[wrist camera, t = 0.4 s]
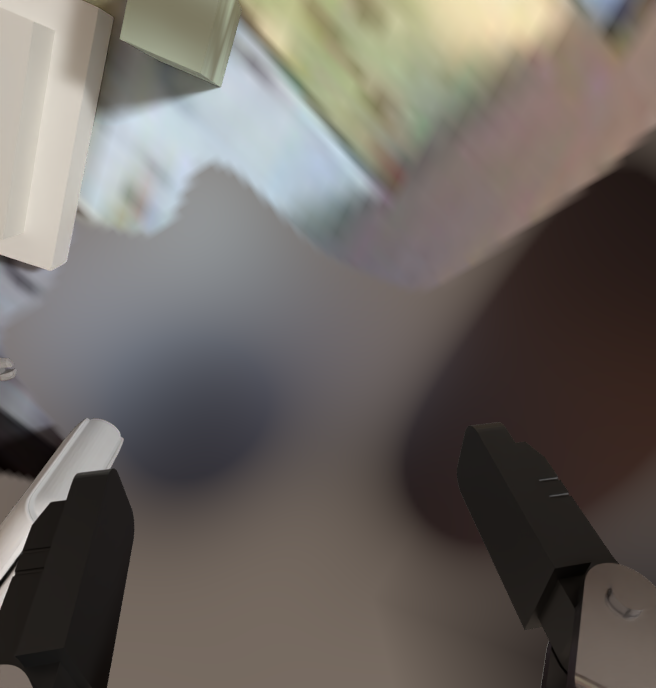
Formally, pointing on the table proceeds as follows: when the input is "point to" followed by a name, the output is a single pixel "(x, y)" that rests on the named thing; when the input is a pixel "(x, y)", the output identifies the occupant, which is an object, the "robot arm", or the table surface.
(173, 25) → the block
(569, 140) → the table surface
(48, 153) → the plinth
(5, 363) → the robot toy
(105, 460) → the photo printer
